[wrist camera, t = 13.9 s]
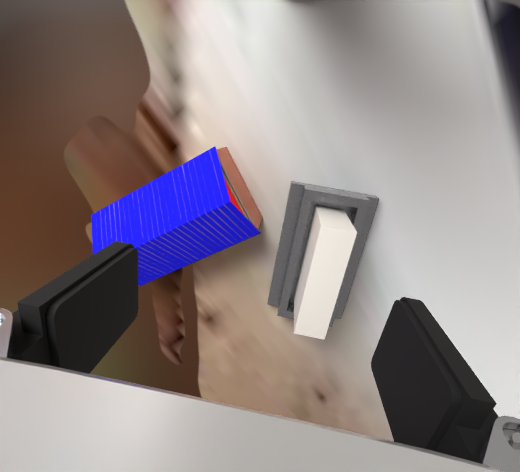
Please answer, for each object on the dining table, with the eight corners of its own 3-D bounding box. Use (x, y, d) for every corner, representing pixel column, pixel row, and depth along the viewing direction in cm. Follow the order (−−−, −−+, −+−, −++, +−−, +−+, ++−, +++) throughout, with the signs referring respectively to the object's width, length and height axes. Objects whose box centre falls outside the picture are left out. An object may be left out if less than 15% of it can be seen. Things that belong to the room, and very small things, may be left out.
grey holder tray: (291, 181, 41) (291, 186, 37) (376, 196, 40) (384, 203, 36) (268, 298, 48) (266, 313, 44) (339, 313, 47) (343, 329, 44)
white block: (315, 205, 40) (320, 225, 32) (344, 210, 40) (357, 232, 31) (294, 295, 45) (293, 333, 37) (319, 300, 45) (324, 339, 37)
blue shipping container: (265, 217, 43) (255, 248, 32) (160, 265, 48) (121, 305, 38) (227, 143, 40) (202, 149, 29) (119, 203, 45) (63, 226, 34)
